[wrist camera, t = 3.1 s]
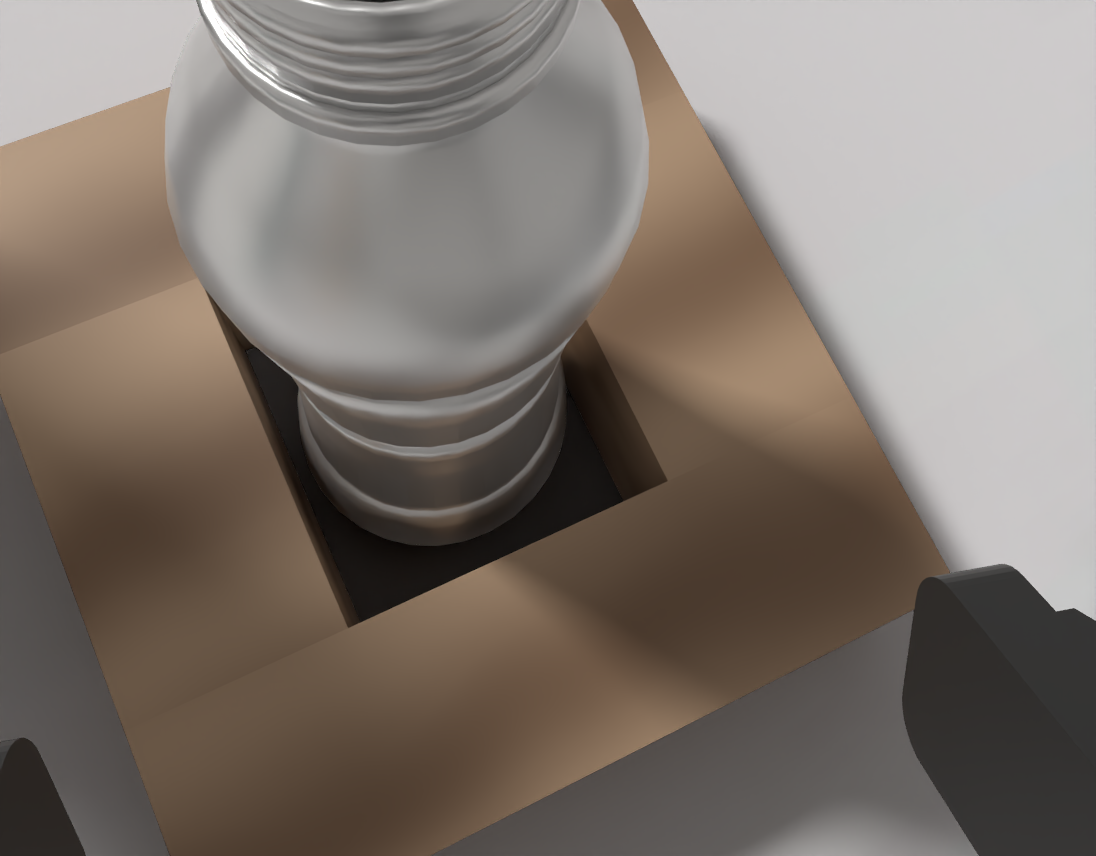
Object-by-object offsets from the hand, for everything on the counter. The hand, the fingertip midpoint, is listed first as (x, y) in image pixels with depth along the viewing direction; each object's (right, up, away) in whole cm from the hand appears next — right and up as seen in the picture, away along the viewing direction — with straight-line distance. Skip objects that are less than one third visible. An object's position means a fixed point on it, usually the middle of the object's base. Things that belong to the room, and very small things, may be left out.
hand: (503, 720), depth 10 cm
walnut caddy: (-3, +2, +18) cm, 19 cm away
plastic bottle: (-3, +2, +19) cm, 19 cm away
